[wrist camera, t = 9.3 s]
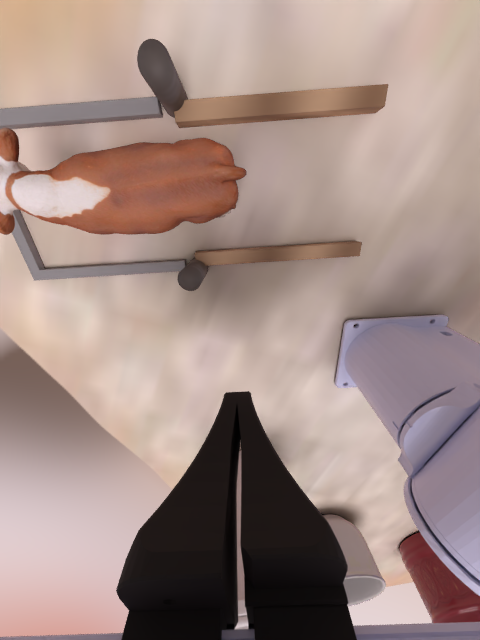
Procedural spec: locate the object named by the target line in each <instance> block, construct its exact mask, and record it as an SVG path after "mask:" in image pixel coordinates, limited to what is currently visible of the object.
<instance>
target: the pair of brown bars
mask: <svg viewBox="0 0 480 640" xmlns="http://www.w3.org/2000/svg"><path fill="white" fill-rule="evenodd" d="M137 61H138V67H139V70H140V72H141V74H142V76H143V78H144V79H145V80H146V82H147V83H148V85H149V86H150V88H151V89H152V91H153V92H154V94H155V95H156V97H157V98H158V99H159V101H160V102H161V104H162V105H163V107H164V108H165V110H166V111H167V113H168V114H169V115H170V116H172V117H174V118H175V122H176V123H177V125H178V126H179V128H183V127H196V126H210V125H223V124H236V123H249V122H263V121H276V120H289V119H303V118H316V117H329V116H342V115H356V114H369V113H376V112H378V111H379V110H380V109H382V108H383V107H384V106H385V101H386V95H387V89H388V84H383V85H371V86H358V87H345V88H332V89H319V90H306V91H293V92H280V93H268V94H255V95H242V96H229V97H216V98H203V99H190V100H188V98H187V95H186V93H185V90H184V88H183V86H182V83H181V81H180V79H179V76H178V74H177V72H176V69H175V67H174V65H173V62H172V60H171V58H170V55H169V53H168V51H167V49H166V48H165V46H164V45H163V44H162V43H161V42H159V41H158V40H155V39H148V40H146V41H144V42H143V43H142V44H141V46H140V48H139V50H138V56H137ZM361 245H362V243H361V242H357V241H352V242H336V243H321V244H305V245H290V246H274V247H259V248H243V249H228V250H212V251H197V252H196V253H195V258H194V259H193V260H192V261H191V262H190V263H188V264H187V265H186V266H185V267H184V268H183V269H182V270H181V271H180V272H179V274H178V282H179V285H180V286H181V287H182V288H183V289H185V290H188V291H193V290H196V289H197V288H198V287H199V286H200V284H201V283H202V281H203V279H204V277H205V275H206V274H207V272H208V265H223V264H239V263H255V262H271V261H287V260H303V259H318V258H334V257H350V256H360V251H361Z"/></svg>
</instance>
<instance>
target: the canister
mask: <svg viewBox="0 0 480 640" xmlns="http://www.w3.org/2000/svg"><path fill="white" fill-rule="evenodd" d="M399 551H400V553H401V556H402V560H403V563H404V564H405V567H406V569H407V570H408V572H409V573H410V575H411V577H412V579H413V581H414V583H415V585H416V588H417V590H418V592H419V594H420V596H421V598H422V600H423V602H424V604H425V606H426V608H427V610H428V613H429V615H430V617H431V619H432V623H459V622H480V596H479V595H477V594H476V593H475V592H474V591H473V590H471V589H470V588H469V587H468V586H467V585H465V584H464V583H463V582H462V581H461V580H460V579H459V578H458V577H457V576H456V575H455V574H454V573H453V572H451V570H450V569H449V568H448V567H447V566H446V565H445V564H444V563H443V562H442V561H441V560H440V559H439V557H438V556H437V555H436V554H435V552H434V551H433V550H432V549H431V547H430V546H429V545H428V543H427V542H426V540H425V539H424V538H423V536H422V535H421V533H420V532H418V533H416V534H414V535H412V536H410V537H408V538H407V539H405V540H404V541H403V542H402V543H401V545H400V548H399Z"/></svg>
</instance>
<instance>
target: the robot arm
mask: <svg viewBox="0 0 480 640" xmlns="http://www.w3.org/2000/svg"><path fill="white" fill-rule="evenodd" d="M430 320H432V321H430ZM448 320H449V318H448V317H447V316H445V315H426V316H409V317H392V318H374V319H357V320H348V321H346V322H345V324H344V328H343V334H342V341H341V347H340V353H339V360H338V366H337V372H336V379H335V385H336V386H337V387H338V388H347V387H358V389H359V390H360V391H361V393H362V394H363V396H364V397H365V399H366V400H367V401H368V403H369V404H370V406H371V407H372V409H373V410H374V412H375V413H376V414H377V416H378V417H379V419H380V420H381V422H382V423H383V424H384V426H385V427H386V429H387V430H388V432H389V433H390V434H391V436H392V437H393V439H394V440H395V442H396V443H397V444H398V446H399V447H400V449H401V455H400V457H399V458H398V461H399V462H400V464H401V465H402V467H403V468H404V470H405V472H406V473H407V475H408V476H409V477H408V478H407V479H406V481H405V484H404V497H405V502H406V505H407V508H408V511H409V513H410V515H411V517H412V519H413V521H414V523H415V525H416V526H417V528H418V530H419V531H420V533H421V535H422V536H423V538H424V539H425V540H426V542H427V543H428V545H429V546H430V547H431V549H432V550H433V551H434V552H435V554H436V555H437V556H438V557H439V559H440V560H441V561H442V562H443V563H444V564H445V565H446V566H447V567H448V568H449V569H450V570H451V572H453V573H454V574H455V575H456V576H457V577H458V578H459V579H460V580H461V581H462V582H463V583H464V584H465V585H467V586H468V587H469V588H470V589H471V590H473V591H474V592H475V593H476V594H477V595H479V596H480V344H479V343H477V342H475V341H473V340H471V339H469V338H467V337H465V336H464V335H462V334H460V333H458V332H456V331H454V330H452V329H450V328H448V327H447V323H448ZM355 324H357V325H356V326H354V325H355ZM345 382H346V383H345ZM344 383H345V384H344ZM240 441H241V539H240V545H241V553H242V561H243V568H244V587H245V608H246V612H247V619H248V629H237V630H234V629H235V627H236V625H237V623H238V577H237V477H238V463H239V448H240ZM347 571H348V565H347V562H346V559H345V556H344V554H343V551H342V549H341V547H340V544H339V542H338V540H337V538H336V536H335V534H334V532H333V530H332V528H331V526H330V524H329V523H328V521H327V520H326V519H325V518H324V516H323V515H322V514H321V513H320V512H319V511H318V509H317V508H316V507H315V506H314V505H313V503H312V502H311V501H310V500H309V498H308V497H307V496H306V495H305V493H304V492H303V491H302V489H301V488H300V487H299V485H298V484H297V483H296V481H295V480H294V478H293V477H292V476H291V474H290V473H289V471H288V470H287V469H286V467H285V466H284V464H283V463H282V461H281V459H280V458H279V456H278V455H277V453H276V451H275V450H274V448H273V446H272V444H271V443H270V441H269V439H268V437H267V435H266V433H265V431H264V429H263V427H262V425H261V423H260V420H259V418H258V416H257V413H256V411H255V408H254V405H253V402H252V398H251V393H250V392H249V391H248V392H229V393H225V394H224V398H223V402H222V405H221V407H220V410H219V413H218V415H217V417H216V419H215V422H214V424H213V426H212V428H211V430H210V432H209V434H208V436H207V438H206V440H205V442H204V444H203V445H202V447H201V449H200V451H199V452H198V454H197V456H196V457H195V459H194V460H193V462H192V463H191V465H190V466H189V468H188V469H187V471H186V472H185V474H184V475H183V477H182V478H181V480H180V481H179V482H178V484H177V485H176V486H175V487H174V489H173V490H172V491H171V493H170V494H169V495H168V497H167V498H166V499H165V500H164V502H163V503H162V504H161V505H160V507H159V508H158V509H157V510H156V511H155V512H154V513H153V515H152V516H151V517H150V518H149V519H148V520H147V522H146V523H145V524H144V525H143V526H142V527H141V528H140V530H139V531H138V533H137V535H136V538H135V540H134V542H133V544H132V546H131V549H130V551H129V553H128V556H127V558H126V561H125V564H124V567H123V571H122V574H121V577H120V580H119V583H118V586H117V590H116V591H117V594H118V596H119V599H120V600H121V601H122V602H123V603H124V605H125V606H126V607H127V608H128V610H129V614H128V617H127V621H126V625H125V628H124V632H123V633H111V634H79V635H51V636H50V635H48V636H16V637H0V640H480V622H459V623H429V624H396V625H364V626H353V624H352V620H351V617H350V613H349V610H348V606H347V604H348V598H347V595H346V591H345V588H344V584H343V582H344V579H345V576H346V574H347Z"/></svg>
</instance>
